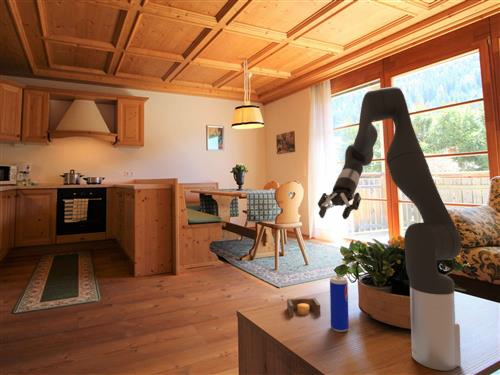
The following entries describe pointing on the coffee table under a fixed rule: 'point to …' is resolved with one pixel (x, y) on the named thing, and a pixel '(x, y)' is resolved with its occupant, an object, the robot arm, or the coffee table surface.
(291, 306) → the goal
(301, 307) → the orange rounded puck
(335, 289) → the beverage can
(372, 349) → the coffee table surface
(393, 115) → the robot arm
